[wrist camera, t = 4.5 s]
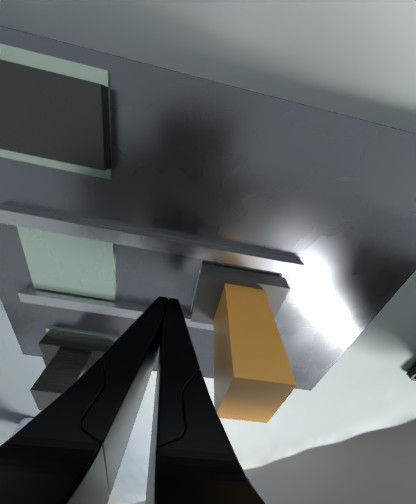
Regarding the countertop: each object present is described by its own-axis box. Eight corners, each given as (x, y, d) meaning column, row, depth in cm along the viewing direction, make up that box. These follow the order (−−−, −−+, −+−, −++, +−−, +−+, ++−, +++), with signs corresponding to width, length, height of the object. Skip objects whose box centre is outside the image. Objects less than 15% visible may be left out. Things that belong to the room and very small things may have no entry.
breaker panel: (454, 153, 9) (676, 173, 5) (300, 364, 17) (330, 444, 13) (-43, 26, 7) (-416, -127, 3) (44, 329, 15) (-21, 408, 11)
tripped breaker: (284, 277, 10) (338, 384, 6) (263, 320, 11) (294, 430, 7) (202, 263, 9) (195, 365, 5) (191, 309, 11) (180, 417, 7)
